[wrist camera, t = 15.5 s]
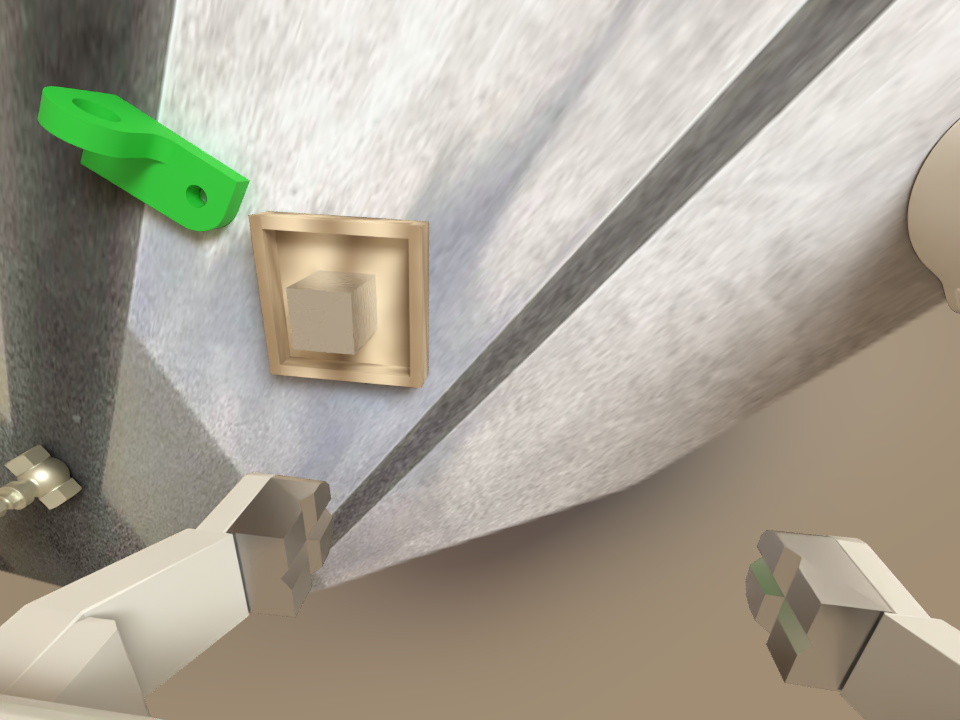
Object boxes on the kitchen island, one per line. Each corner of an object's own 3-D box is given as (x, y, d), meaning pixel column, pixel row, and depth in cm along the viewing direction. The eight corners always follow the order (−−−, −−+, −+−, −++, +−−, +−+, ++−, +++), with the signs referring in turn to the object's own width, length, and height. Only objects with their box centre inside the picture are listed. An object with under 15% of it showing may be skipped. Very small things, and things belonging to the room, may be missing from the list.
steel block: (375, 274, 41) (350, 292, 35) (377, 329, 43) (354, 354, 37) (319, 270, 41) (286, 287, 36) (324, 324, 43) (293, 349, 38)
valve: (58, 433, 53) (-65, 505, 42) (100, 478, 55) (-8, 558, 44) (22, 453, 55) (-106, 527, 44) (64, 496, 57) (-49, 577, 46)
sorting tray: (429, 221, 40) (421, 226, 37) (428, 373, 45) (421, 388, 42) (267, 211, 41) (248, 215, 38) (286, 361, 46) (270, 374, 44)
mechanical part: (100, 162, 41) (6, 164, 34) (117, 95, 39) (19, 81, 31) (227, 241, 42) (163, 259, 35) (250, 180, 40) (187, 186, 33)
